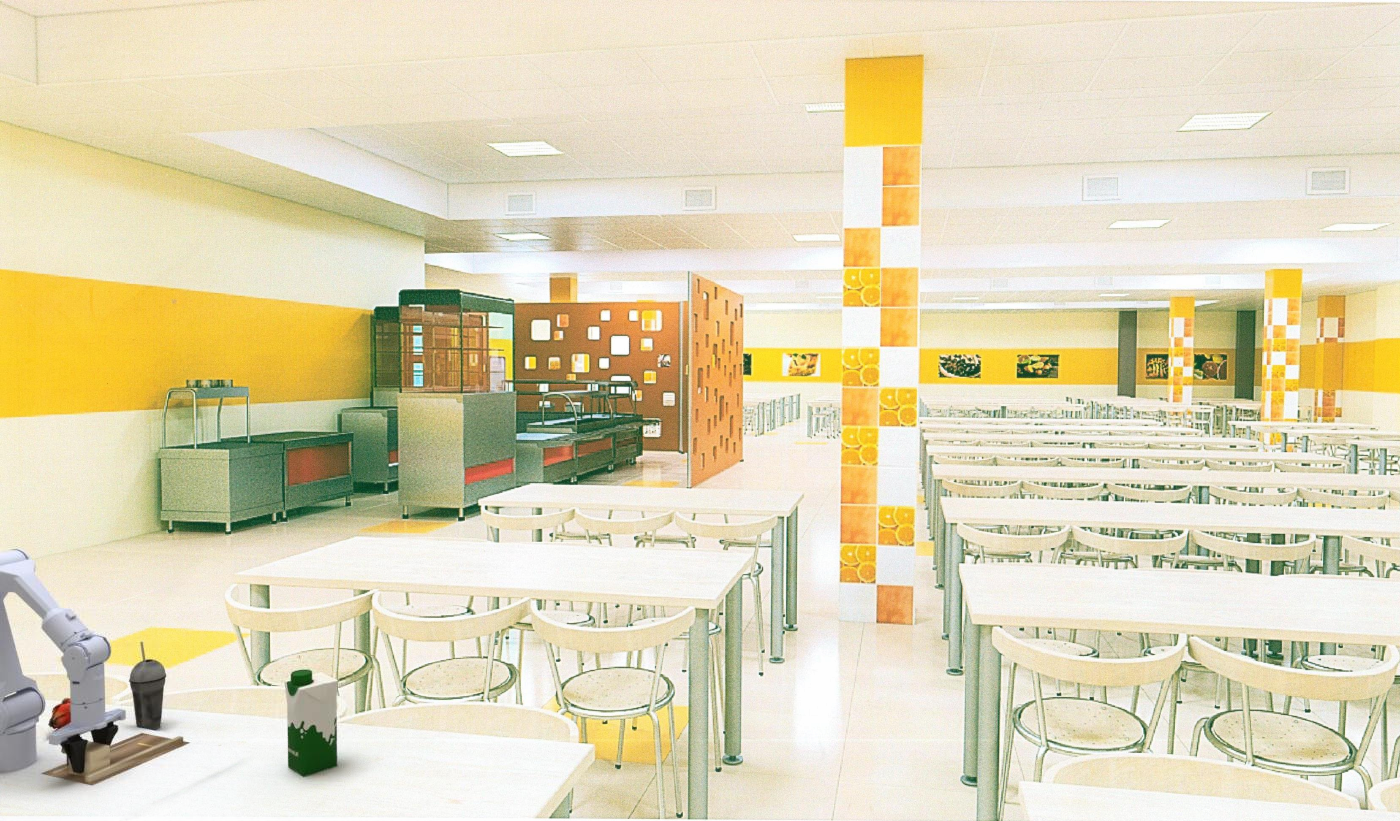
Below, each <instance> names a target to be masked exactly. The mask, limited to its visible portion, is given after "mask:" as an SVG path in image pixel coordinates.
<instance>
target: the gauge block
mask: <svg viewBox="0 0 1400 821" xmlns="http://www.w3.org/2000/svg"><path fill="white" fill-rule="evenodd" d="M110 746H111V745H110ZM110 746H109V745H105V744H100V743H95V742H93V741H90V740H88V743H87V746H86V750H85V767H84V772H83V773H76V772H73V769H72V766H71V763H70V760H69V758H68V756H67V754H66V752H65V751H64V749H63V748H62V747H61V753H62V754H65V755H66V763H67V766H69V774H74V775H78V776H82V777H85V776H86V775H88V774H91V773H93V772H95V771H98V770H100V769H102V768H105V767H107V766H110Z"/></svg>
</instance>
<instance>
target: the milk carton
mask: <svg viewBox="0 0 1400 821" xmlns="http://www.w3.org/2000/svg"><path fill="white" fill-rule="evenodd" d="M284 687H285V688H284V689H285V696H286V697H285V698H286V704H287V705H286V713H287V714H286V718H287V720H286V721H287V767H288V768H289V769H291V770H293V771H294V772H295V773H297V774H299V775H300V776H301V777H303V778H304V777H307V776H310V775H311V776H312V775H314V774H317V773H321V772H323V771H327V770H330V769H333V768H336V767H338V722H337V721H338V714H337V709H338V708H337V706H338V705H337V704H338V701H337V700H338V699H337V698H338V687H339V679H337V678H334V677H332V676H330V675H328V674H326V673H325V672H322V671H320V672H317V673H313V671H312V670H310V669H299V670H298V669H297V670H294V671H292V672H291V673H290V679H286V680H284Z"/></svg>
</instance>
